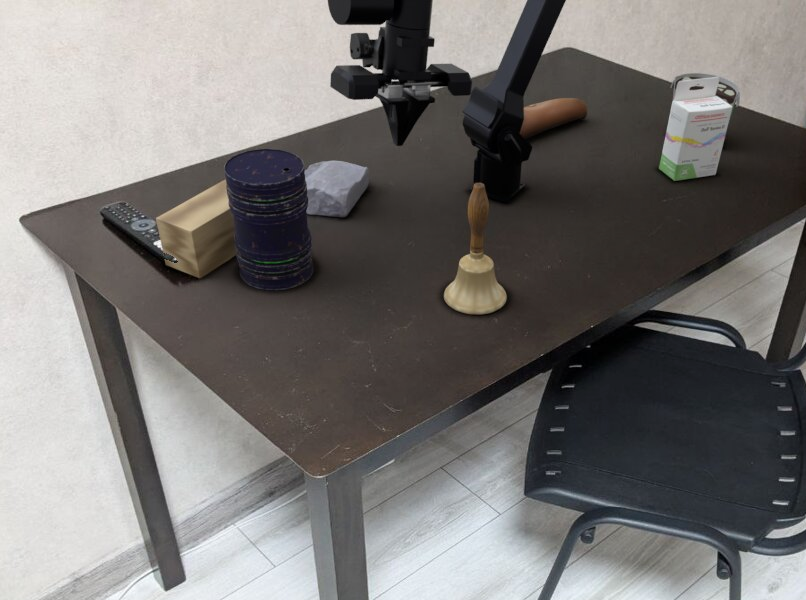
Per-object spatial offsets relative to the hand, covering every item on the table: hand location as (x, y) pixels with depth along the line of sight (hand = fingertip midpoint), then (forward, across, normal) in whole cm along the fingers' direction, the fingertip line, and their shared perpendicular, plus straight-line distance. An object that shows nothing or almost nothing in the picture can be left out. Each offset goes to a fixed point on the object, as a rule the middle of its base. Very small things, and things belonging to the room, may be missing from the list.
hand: (398, 145), depth 125 cm
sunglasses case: (+6, -39, -19) cm, 44 cm away
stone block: (+12, +4, -12) cm, 18 cm away
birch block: (+15, +24, -6) cm, 29 cm away
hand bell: (+13, -1, +21) cm, 25 cm away
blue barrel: (+15, +19, +3) cm, 24 cm away
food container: (+3, -64, -2) cm, 64 cm away
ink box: (+5, -52, +8) cm, 52 cm away
